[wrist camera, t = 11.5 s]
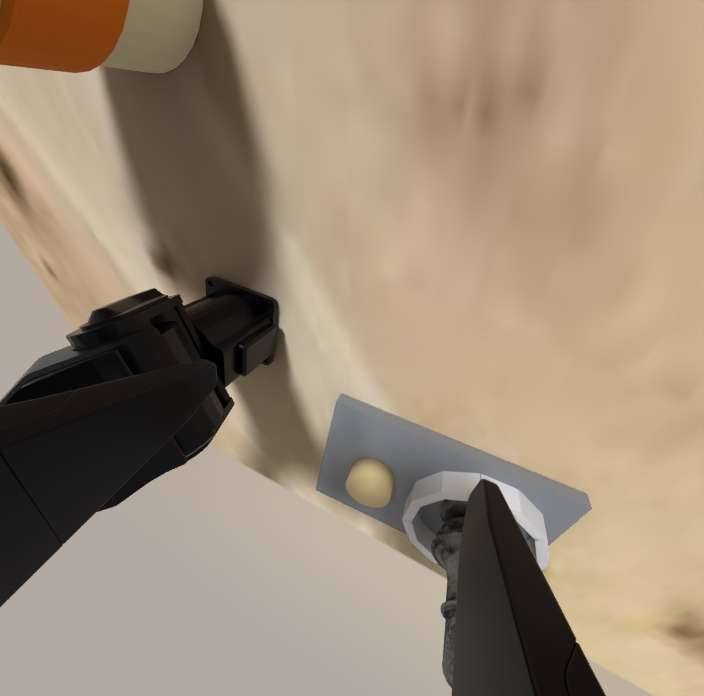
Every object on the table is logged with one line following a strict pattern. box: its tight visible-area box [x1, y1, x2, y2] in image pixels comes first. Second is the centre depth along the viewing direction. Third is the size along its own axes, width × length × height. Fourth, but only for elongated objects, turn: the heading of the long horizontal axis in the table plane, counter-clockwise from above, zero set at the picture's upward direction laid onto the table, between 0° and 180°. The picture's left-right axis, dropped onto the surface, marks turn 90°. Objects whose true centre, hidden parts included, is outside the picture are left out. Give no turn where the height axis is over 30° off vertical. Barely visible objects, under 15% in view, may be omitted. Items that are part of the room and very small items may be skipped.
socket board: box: [316, 394, 592, 570], centre depth 27 cm, size 20×13×3 cm, turn 78°
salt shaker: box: [431, 499, 467, 688], centre depth 21 cm, size 6×6×12 cm
